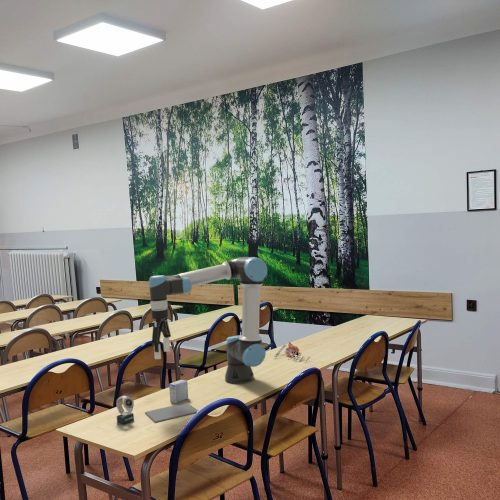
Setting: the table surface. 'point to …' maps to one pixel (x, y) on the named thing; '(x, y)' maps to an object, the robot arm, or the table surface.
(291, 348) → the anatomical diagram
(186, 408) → the mat
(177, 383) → the medicine box
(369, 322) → the table surface
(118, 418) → the watch
